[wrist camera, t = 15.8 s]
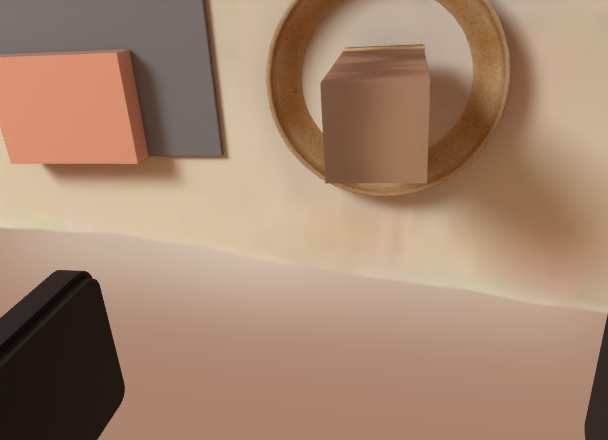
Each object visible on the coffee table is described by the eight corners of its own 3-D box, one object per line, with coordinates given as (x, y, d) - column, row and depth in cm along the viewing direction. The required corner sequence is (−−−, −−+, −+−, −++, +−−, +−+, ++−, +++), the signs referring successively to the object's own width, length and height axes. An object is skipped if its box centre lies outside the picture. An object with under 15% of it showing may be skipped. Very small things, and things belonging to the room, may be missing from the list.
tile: (116, 52, 35) (137, 163, 38) (130, 48, 37) (149, 155, 40) (-20, 58, 37) (11, 163, 40) (-1, 54, 38) (27, 155, 42)
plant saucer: (485, 190, 37) (490, 205, 35) (276, 177, 40) (268, 189, 37) (522, -48, 31) (531, -50, 29) (272, -48, 34) (262, -49, 31)
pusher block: (423, 43, 32) (431, 78, 22) (421, 120, 34) (427, 184, 24) (345, 46, 33) (319, 81, 23) (347, 121, 34) (324, 184, 25)
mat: (189, -122, 32) (186, -123, 32) (223, 154, 39) (221, 155, 39) (-59, -97, 35) (-64, -98, 35) (14, 154, 42) (10, 156, 42)
